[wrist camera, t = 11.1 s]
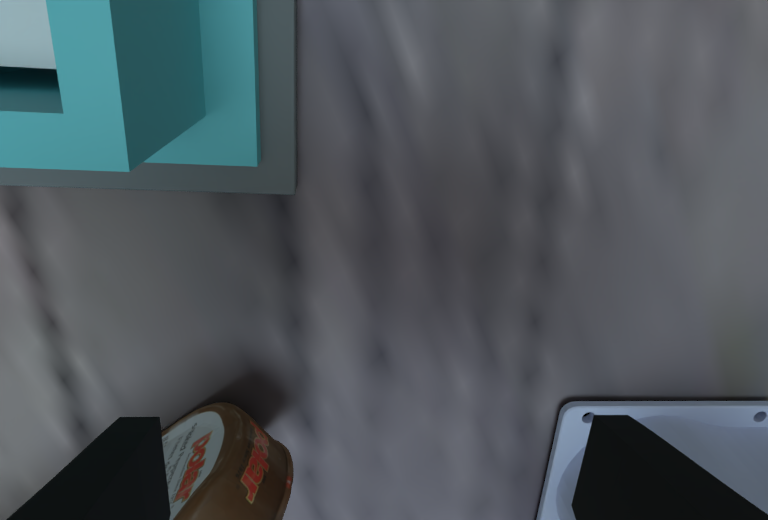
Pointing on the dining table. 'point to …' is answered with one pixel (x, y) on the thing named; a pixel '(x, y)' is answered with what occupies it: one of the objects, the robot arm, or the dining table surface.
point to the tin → (225, 467)
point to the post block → (272, 176)
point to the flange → (137, 88)
